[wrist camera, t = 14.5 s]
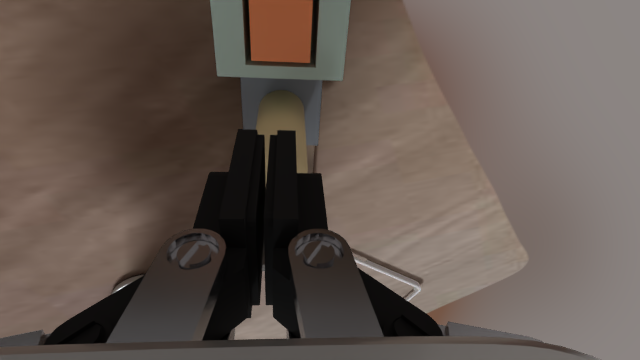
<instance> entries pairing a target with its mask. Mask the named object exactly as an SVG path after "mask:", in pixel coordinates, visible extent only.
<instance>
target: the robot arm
mask: <svg viewBox="0 0 640 360" xmlns="http://www.w3.org/2000/svg"><path fill="white" fill-rule="evenodd" d="M263 251H264V257H265V292H266V305H273V317H274V318H275V319H276V320H277V321H278V322H279V323H281V324H282V325H283V326H284V327H285V328H286V329H287V339H251V340H234V336H235V327H236V326H237V325H239V324H240V323H241V322H242V321H244V320H245V319H246V318H251V311H252V305H260V293H261V279H262V265H263ZM0 360H601V359H598V358H596V357H593V356H590V355H587V354H584V353H581V352H578V351H575V350H572V349H569V348H566V347H562V346H558V345H553V344H548V343H544V342H542V341H540V340H537V339H534V338H531V337H527V336H522V335H517V334H511V333H506V332H501V331H495V330H490V329H485V328H480V327H474V326H469V325H463V324H458V323H453V322H448V323H447V325H446V326H443V325H438V324H437V323H436V322H435V321H434V320H433V319H432V318H431V317H430V316H429V315H427V314H426V313H425V312H423V311H422V310H420V309H419V308H417V307H416V306H414V305H413V304H411V303H410V302H408V301H407V300H405V299H404V298H402V297H401V296H399V295H398V294H396V293H395V292H393V291H392V290H390V289H389V288H387V287H386V286H384V285H383V284H381V283H380V282H378V281H377V280H375V279H374V278H372V277H371V276H369V275H368V274H366V273H365V272H363V271H362V270H360V269H359V268H358V267H357V265H356V262H355V260H354V257H353V254H352V252H351V249H350V247H349V245H348V243H347V242H346V240H345V239H344V238H343V237H341V236H340V235H339V234H337V233H335V232H333V231H330V230H328V226H327V217H326V209H325V201H324V192H323V184H322V176H321V173H297V159H296V131H294V130H277V135H270V142H269V155H268V168H267V180H266V175H265V136H264V135H258V132H257V130H251V129H238V132H237V137H236V141H235V146H234V150H233V155H232V160H231V164H230V169H229V172H210V173H209V175H208V179H207V182H206V185H205V189H204V192H203V196H202V199H201V203H200V206H199V210H198V213H197V216H196V220H195V223H194V227H193V229H190V230H185V231H182V232H180V233H178V234H175V235H174V236H172V237H171V238H169V239H168V240H167V241H166V242H165V243H164V245H163V246H162V247H161V249H160V250H159V252H158V254H157V256H156V257H155V259H154V261H153V263H152V264H151V266H150V268H149V269H148V271H147V273H146V274H145V275H139V276H135V277H131V278H129V279H126V280H124V281H123V282H121V283H120V284H118V285H117V286H116V287H115V288H114V290H113V291H112V293H111V295H110V296H108V297H106V298H105V299H103V300H101V301H99V302H98V303H96V304H94V305H93V306H91V307H89V308H88V309H86V310H84V311H82V312H81V313H79V314H77V315H76V316H74V317H72V318H71V319H69V320H67V321H66V322H64V323H63V324H62V325H60V326H59V327H58V328H56V329H55V330H54V331H53V332H52V333H50V334H46V335H45V333H44V331H43V330H39V331H34V332H29V333H24V334H19V335H14V336H9V337H5V338H0Z"/></svg>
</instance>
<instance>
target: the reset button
mask: <svg viewBox="0 0 640 360" xmlns="http://www.w3.org/2000/svg"><path fill="white" fill-rule="evenodd" d="M312 9H313V0H249V17H250V41H251V61H272V62H296V63H310V51H311V30H312Z"/></svg>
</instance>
